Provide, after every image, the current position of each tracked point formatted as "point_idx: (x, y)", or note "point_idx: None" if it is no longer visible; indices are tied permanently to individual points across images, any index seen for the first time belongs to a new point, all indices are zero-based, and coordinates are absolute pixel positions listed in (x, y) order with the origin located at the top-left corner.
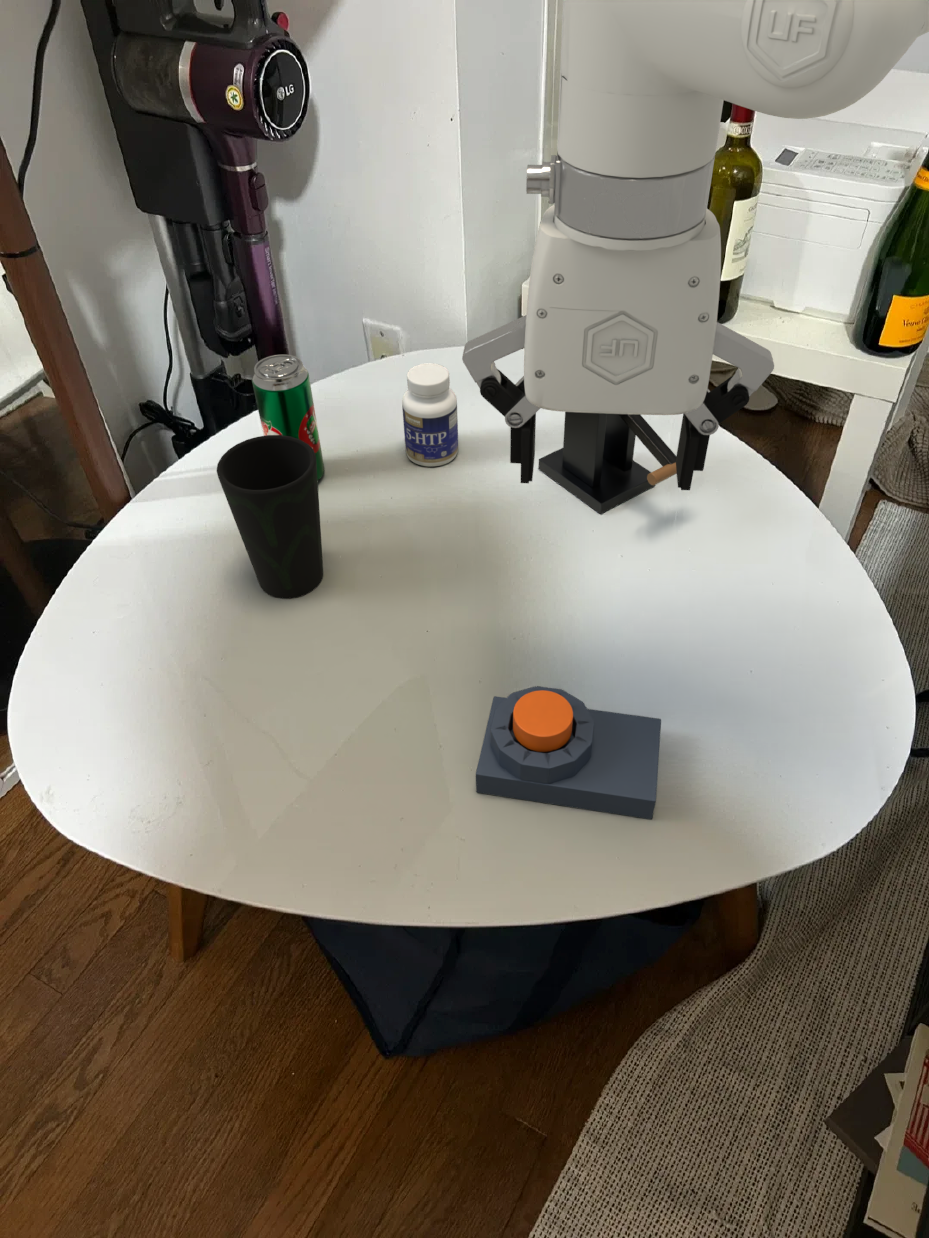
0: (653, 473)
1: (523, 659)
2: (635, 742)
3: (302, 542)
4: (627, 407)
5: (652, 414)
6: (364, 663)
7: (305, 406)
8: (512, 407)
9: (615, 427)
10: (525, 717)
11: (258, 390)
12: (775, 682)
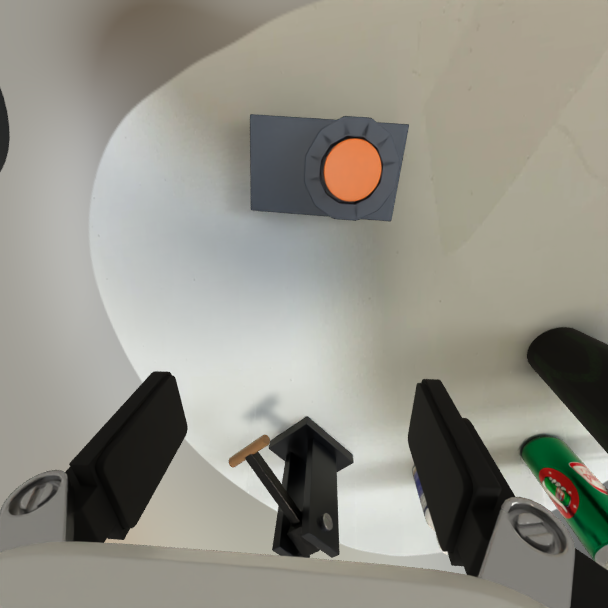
0: (264, 444)
1: (362, 278)
2: (270, 180)
3: (585, 366)
4: (179, 592)
5: (113, 547)
6: (495, 263)
7: (583, 517)
8: (570, 576)
9: (297, 489)
10: (369, 162)
11: None
12: (176, 270)
